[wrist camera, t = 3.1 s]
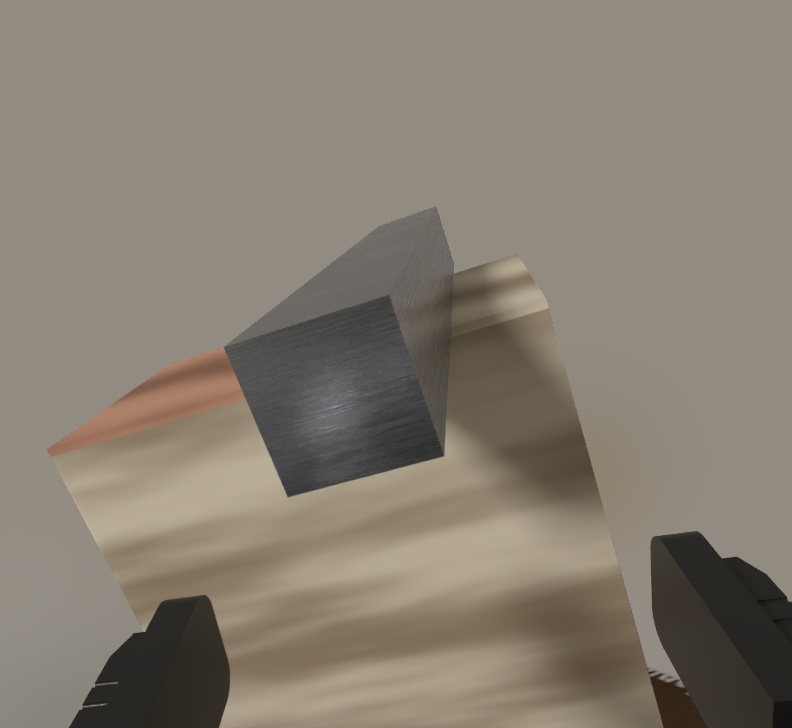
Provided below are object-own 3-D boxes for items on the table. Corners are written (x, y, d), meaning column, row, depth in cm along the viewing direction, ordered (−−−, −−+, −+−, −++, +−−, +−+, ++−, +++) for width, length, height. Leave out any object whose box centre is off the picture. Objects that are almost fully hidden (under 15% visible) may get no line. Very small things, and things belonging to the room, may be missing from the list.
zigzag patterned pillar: (734, 986, 27) (546, 298, 19) (351, 1021, 30) (46, 449, 22) (661, 769, 37) (516, 252, 29) (377, 813, 40) (172, 362, 32)
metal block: (444, 456, 11) (388, 294, 10) (288, 496, 11) (223, 347, 11) (454, 264, 32) (436, 206, 31) (398, 281, 32) (379, 225, 31)
